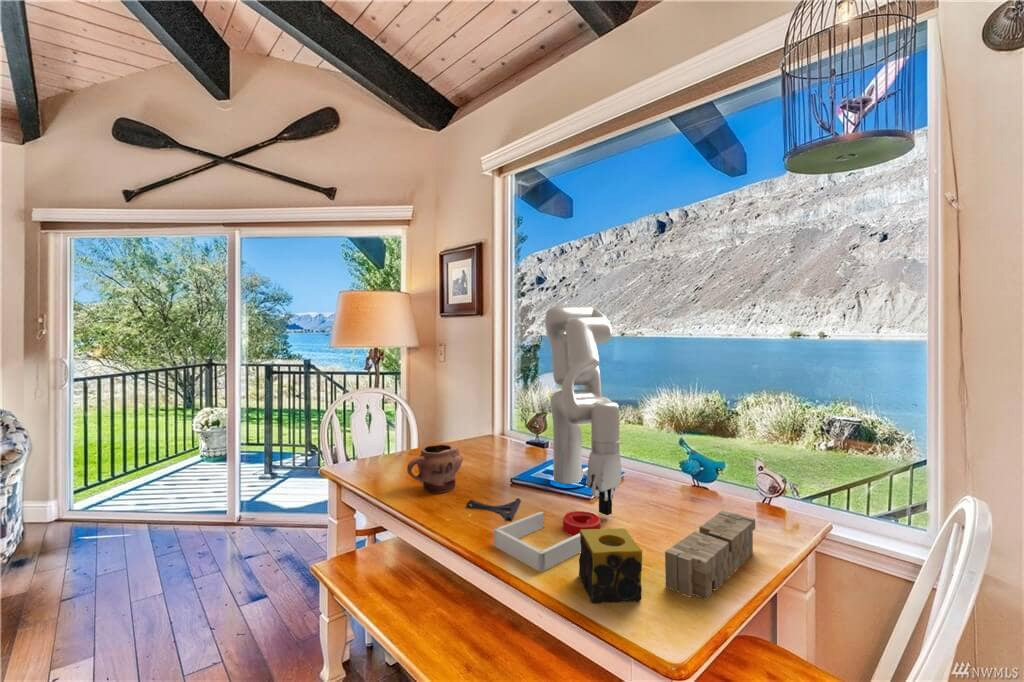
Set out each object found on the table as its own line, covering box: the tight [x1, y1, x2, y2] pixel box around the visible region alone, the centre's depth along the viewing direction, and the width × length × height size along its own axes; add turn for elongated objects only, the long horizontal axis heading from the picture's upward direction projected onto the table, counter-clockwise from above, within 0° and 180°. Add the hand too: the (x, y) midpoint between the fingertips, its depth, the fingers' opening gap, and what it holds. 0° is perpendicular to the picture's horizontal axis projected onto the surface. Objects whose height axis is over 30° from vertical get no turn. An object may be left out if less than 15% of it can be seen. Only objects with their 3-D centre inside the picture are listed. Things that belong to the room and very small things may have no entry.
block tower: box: [664, 509, 756, 600], centre depth 97 cm, size 8×8×29 cm
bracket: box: [465, 497, 521, 522], centre depth 130 cm, size 14×15×3 cm
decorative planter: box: [406, 444, 464, 494], centre depth 145 cm, size 20×12×14 cm, turn 136°
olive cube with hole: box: [578, 527, 643, 604], centre depth 90 cm, size 10×10×10 cm
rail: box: [493, 511, 581, 573], centre depth 107 cm, size 16×16×4 cm
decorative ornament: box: [562, 510, 602, 537], centre depth 117 cm, size 10×10×3 cm
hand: (605, 513), depth 123 cm, fingers closed
